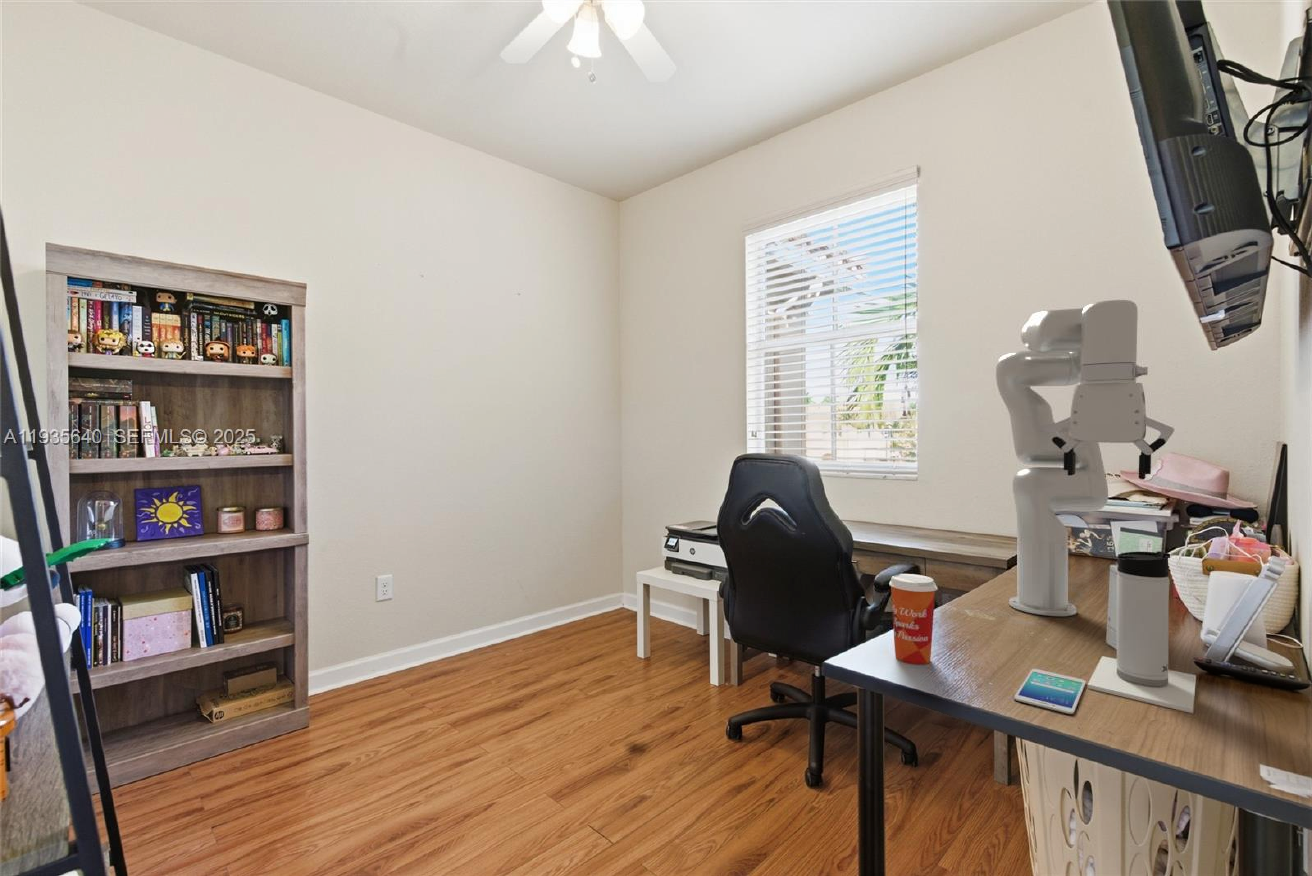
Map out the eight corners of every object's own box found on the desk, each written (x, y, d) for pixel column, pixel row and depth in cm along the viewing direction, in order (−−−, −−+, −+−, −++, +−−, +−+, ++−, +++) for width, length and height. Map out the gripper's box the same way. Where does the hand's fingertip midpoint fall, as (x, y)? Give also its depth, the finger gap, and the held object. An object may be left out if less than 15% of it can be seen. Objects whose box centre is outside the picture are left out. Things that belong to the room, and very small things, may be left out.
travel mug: (1180, 689, 89) (1181, 556, 89) (1131, 686, 90) (1131, 555, 90) (1154, 673, 95) (1154, 548, 95) (1108, 670, 97) (1108, 547, 97)
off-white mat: (1102, 659, 103) (1102, 656, 103) (1195, 679, 95) (1195, 675, 95) (1087, 688, 91) (1087, 684, 91) (1192, 713, 83) (1193, 709, 83)
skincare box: (1105, 643, 111) (1105, 564, 111) (1143, 646, 109) (1143, 565, 109) (1129, 660, 102) (1129, 574, 102) (1170, 663, 101) (1170, 576, 101)
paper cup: (880, 657, 104) (880, 577, 104) (902, 647, 109) (902, 571, 109) (924, 671, 98) (924, 586, 98) (945, 659, 103) (946, 579, 103)
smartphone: (1087, 680, 93) (1074, 713, 82) (1087, 685, 93) (1074, 719, 82) (1031, 667, 98) (1012, 697, 87) (1031, 673, 98) (1012, 703, 87)
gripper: (1176, 373, 97) (1173, 478, 98) (1051, 378, 109) (1049, 472, 110) (1174, 371, 92) (1172, 482, 92) (1042, 377, 103) (1041, 475, 104)
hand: (1105, 476), depth 101 cm, fingers open, 9 cm apart
